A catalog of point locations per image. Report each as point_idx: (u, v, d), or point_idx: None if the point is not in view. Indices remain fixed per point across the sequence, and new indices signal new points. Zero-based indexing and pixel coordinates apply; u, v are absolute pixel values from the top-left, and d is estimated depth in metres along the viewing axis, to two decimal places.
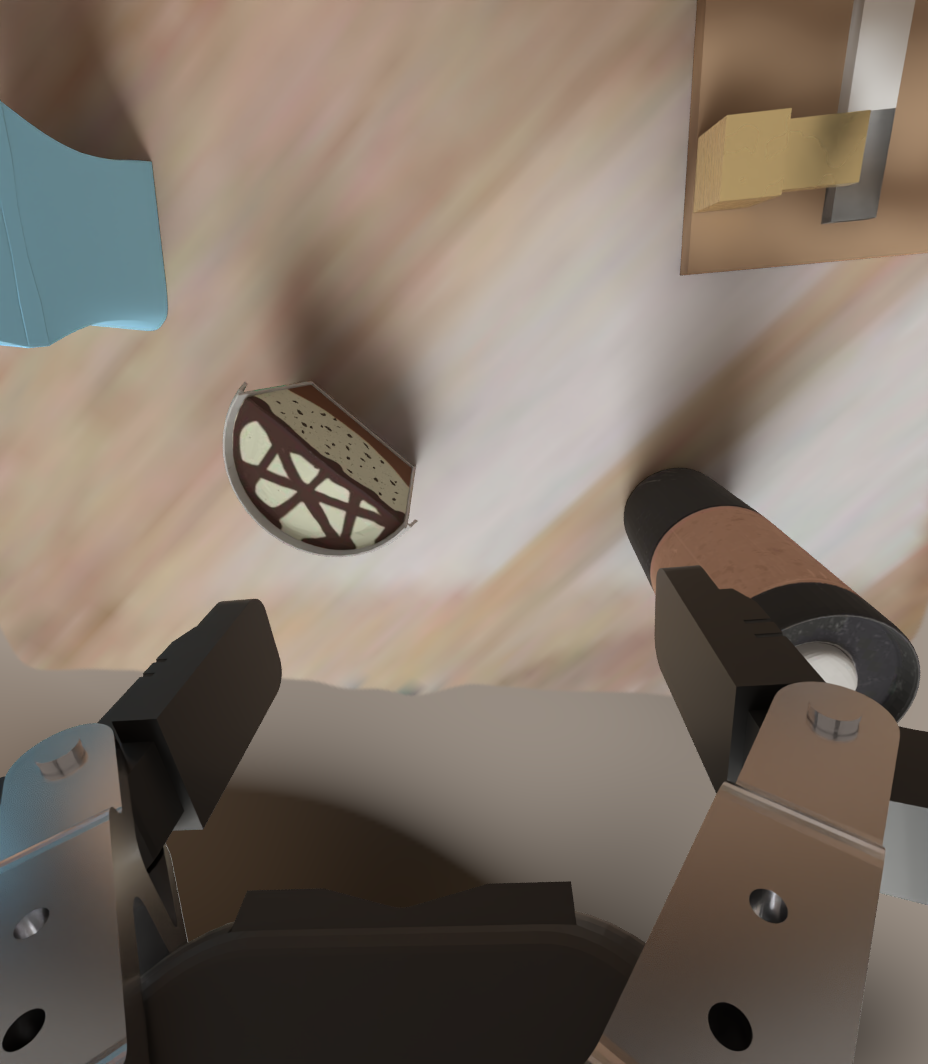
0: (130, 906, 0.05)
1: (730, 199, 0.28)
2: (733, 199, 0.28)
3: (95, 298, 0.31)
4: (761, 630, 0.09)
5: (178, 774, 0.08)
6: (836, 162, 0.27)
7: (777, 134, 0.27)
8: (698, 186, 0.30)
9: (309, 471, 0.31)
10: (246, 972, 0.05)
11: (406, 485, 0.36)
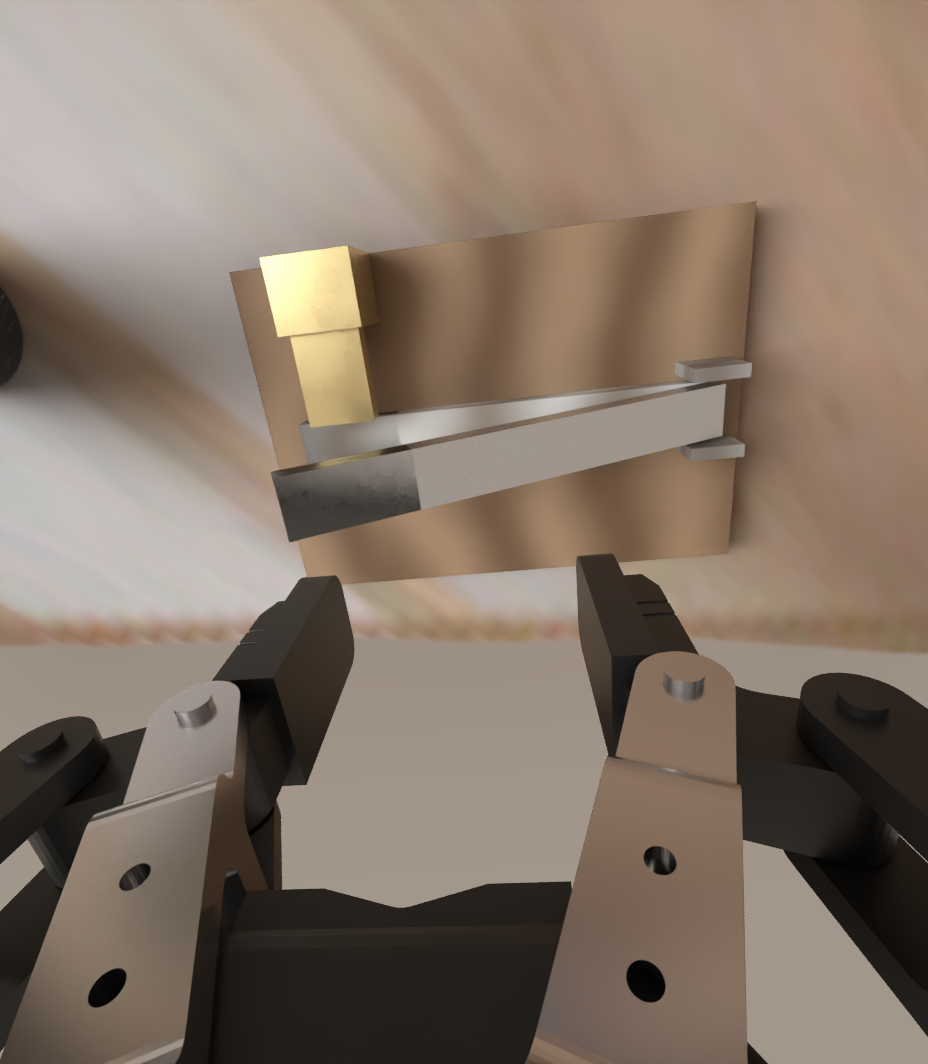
0: (221, 879, 0.05)
1: (264, 272, 0.22)
2: (265, 277, 0.22)
3: None
4: (656, 610, 0.09)
5: (287, 732, 0.09)
6: (324, 397, 0.24)
7: (335, 316, 0.23)
8: None
9: None
10: (246, 972, 0.05)
11: None
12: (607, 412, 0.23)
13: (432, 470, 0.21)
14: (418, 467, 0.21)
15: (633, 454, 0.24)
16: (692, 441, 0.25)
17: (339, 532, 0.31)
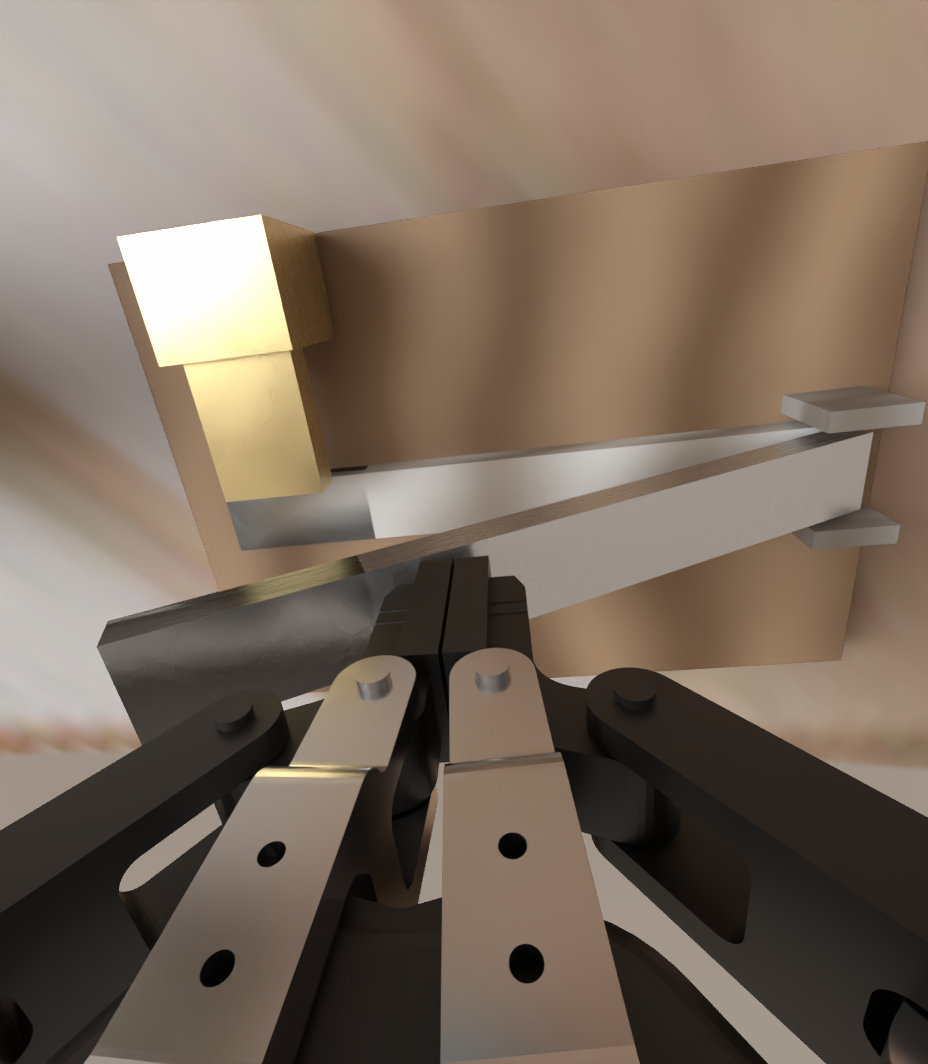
0: (347, 884, 0.05)
1: (127, 261, 0.13)
2: (130, 269, 0.13)
3: None
4: (512, 610, 0.10)
5: (442, 708, 0.09)
6: (244, 458, 0.16)
7: (249, 333, 0.14)
8: None
9: None
10: None
11: None
12: (695, 487, 0.14)
13: None
14: (379, 600, 0.12)
15: (730, 547, 0.15)
16: (817, 521, 0.16)
17: None
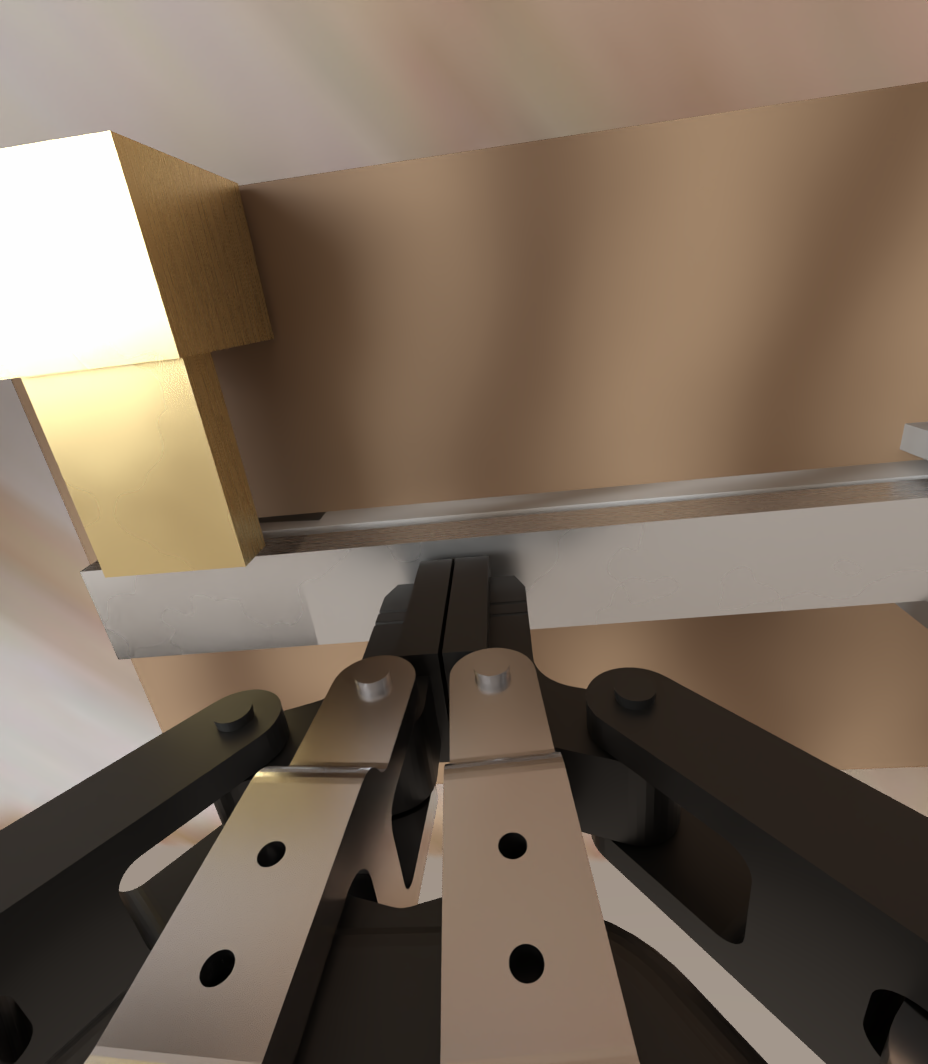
0: (346, 884, 0.05)
1: None
2: None
3: None
4: (512, 610, 0.10)
5: (443, 708, 0.09)
6: (127, 517, 0.11)
7: (109, 330, 0.09)
8: None
9: None
10: None
11: None
12: (701, 524, 0.11)
13: (333, 589, 0.12)
14: (308, 581, 0.12)
15: (757, 607, 0.12)
16: (917, 598, 0.12)
17: None
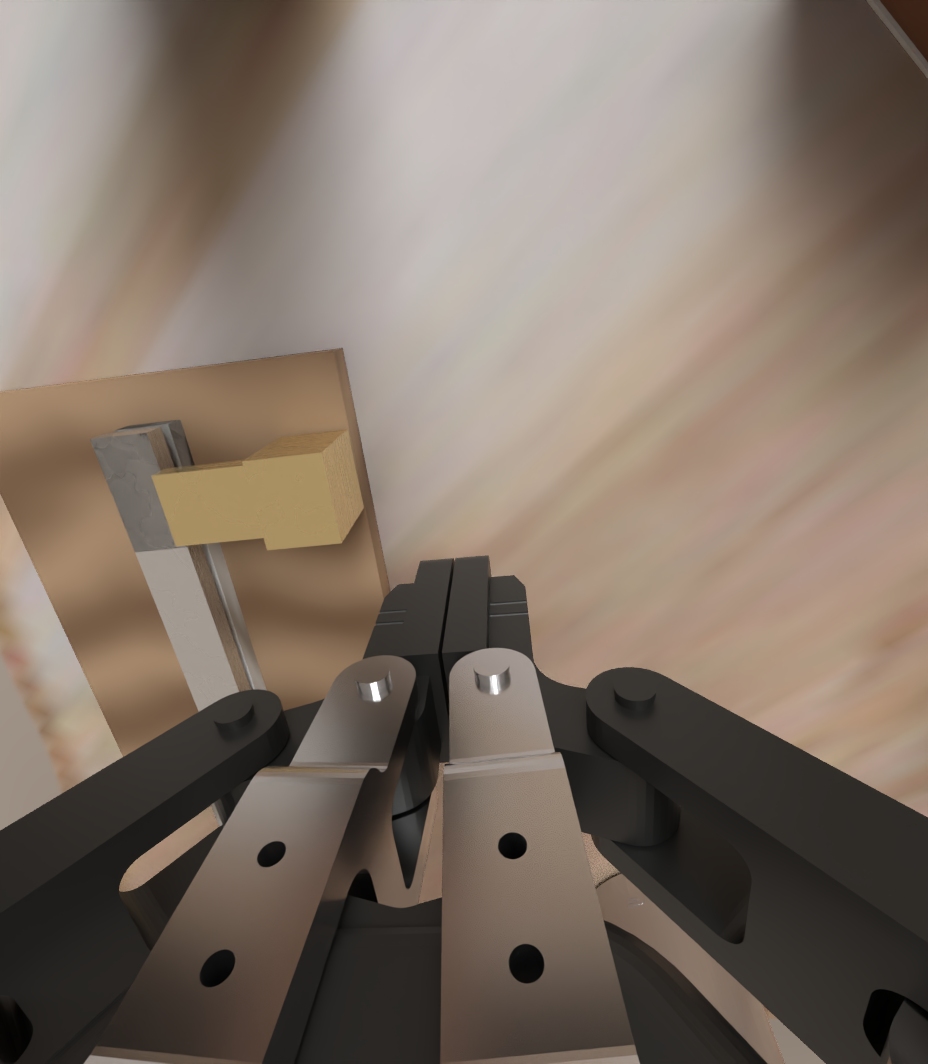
0: (346, 884, 0.05)
1: (307, 455, 0.20)
2: (303, 455, 0.20)
3: None
4: (512, 610, 0.10)
5: (443, 708, 0.09)
6: (189, 495, 0.21)
7: (273, 525, 0.21)
8: (350, 460, 0.23)
9: None
10: None
11: None
12: None
13: (171, 563, 0.24)
14: (172, 551, 0.24)
15: None
16: None
17: (49, 447, 0.25)
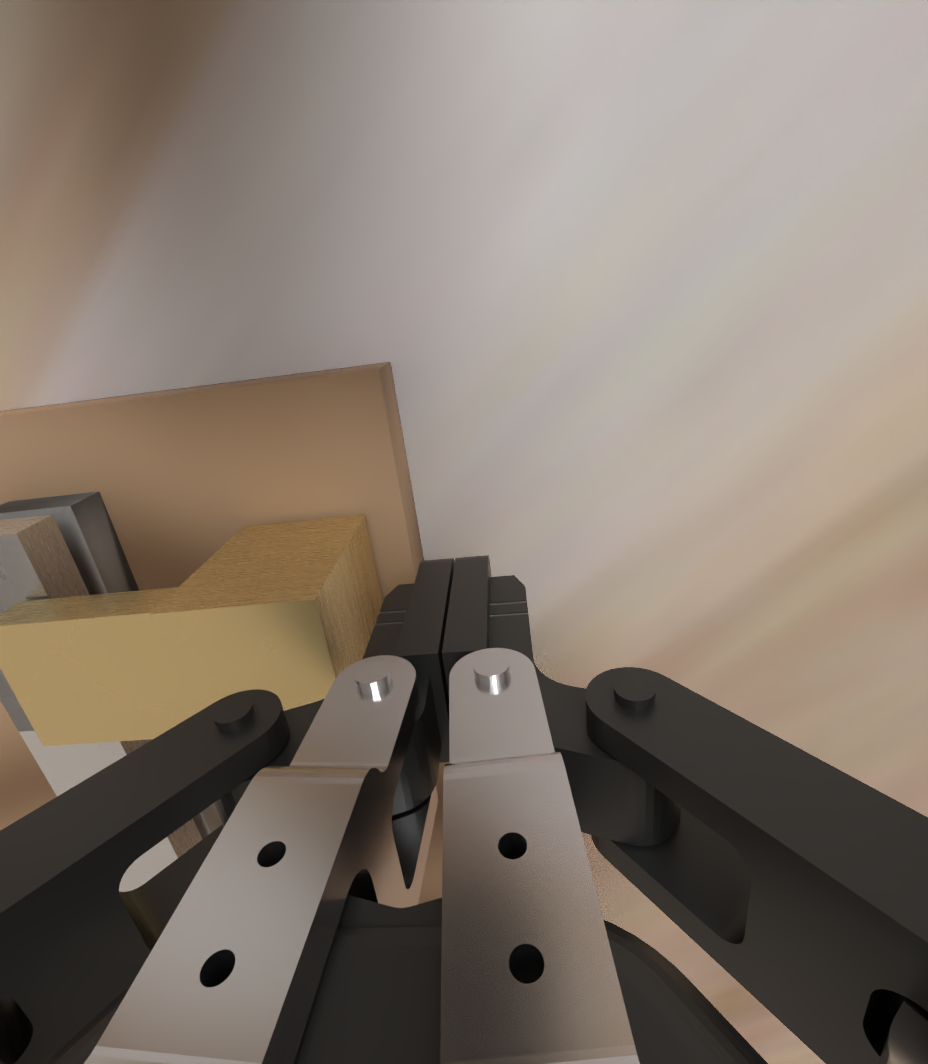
0: (346, 884, 0.05)
1: (285, 603, 0.09)
2: (277, 602, 0.09)
3: None
4: (512, 610, 0.10)
5: (442, 708, 0.09)
6: (57, 663, 0.11)
7: None
8: (368, 572, 0.13)
9: None
10: None
11: None
12: None
13: (85, 749, 0.13)
14: None
15: None
16: None
17: None
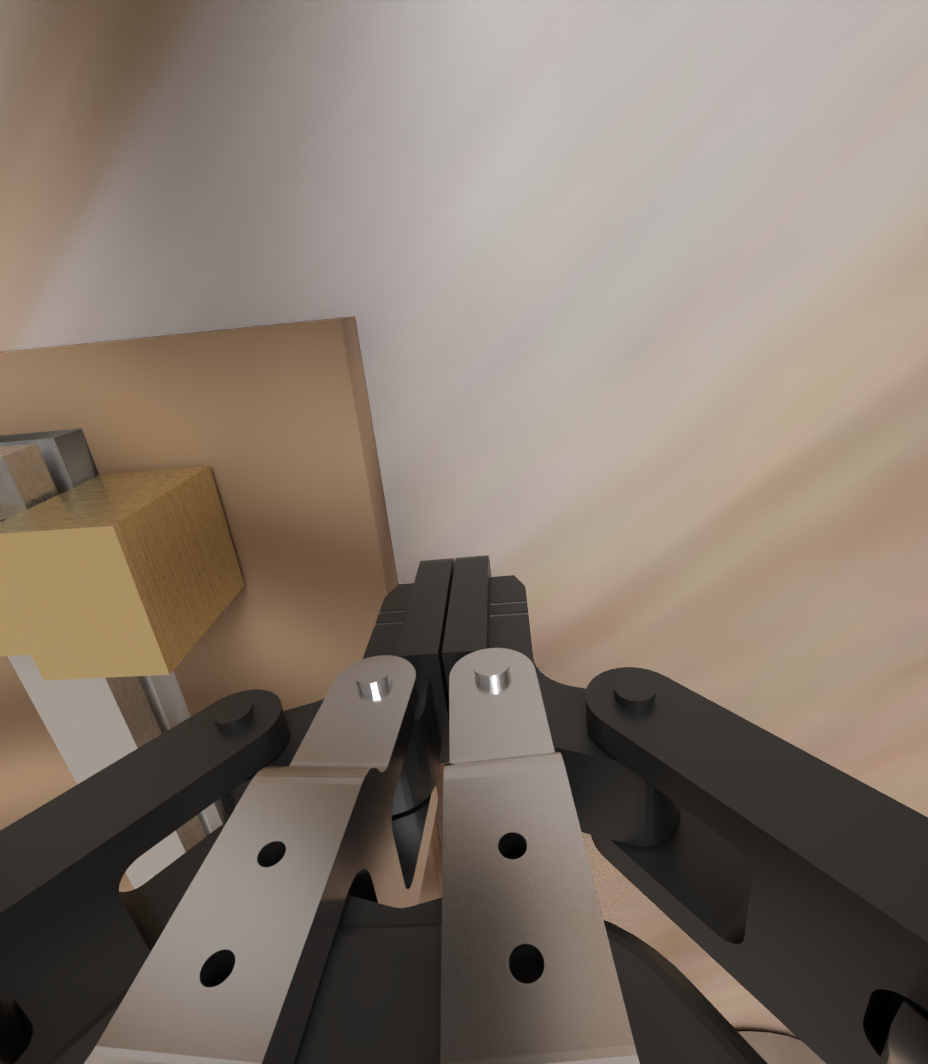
0: (346, 884, 0.05)
1: (88, 529, 0.11)
2: (82, 528, 0.11)
3: None
4: (512, 610, 0.10)
5: (443, 708, 0.09)
6: None
7: (48, 642, 0.12)
8: (210, 518, 0.14)
9: None
10: None
11: None
12: None
13: None
14: None
15: None
16: None
17: None
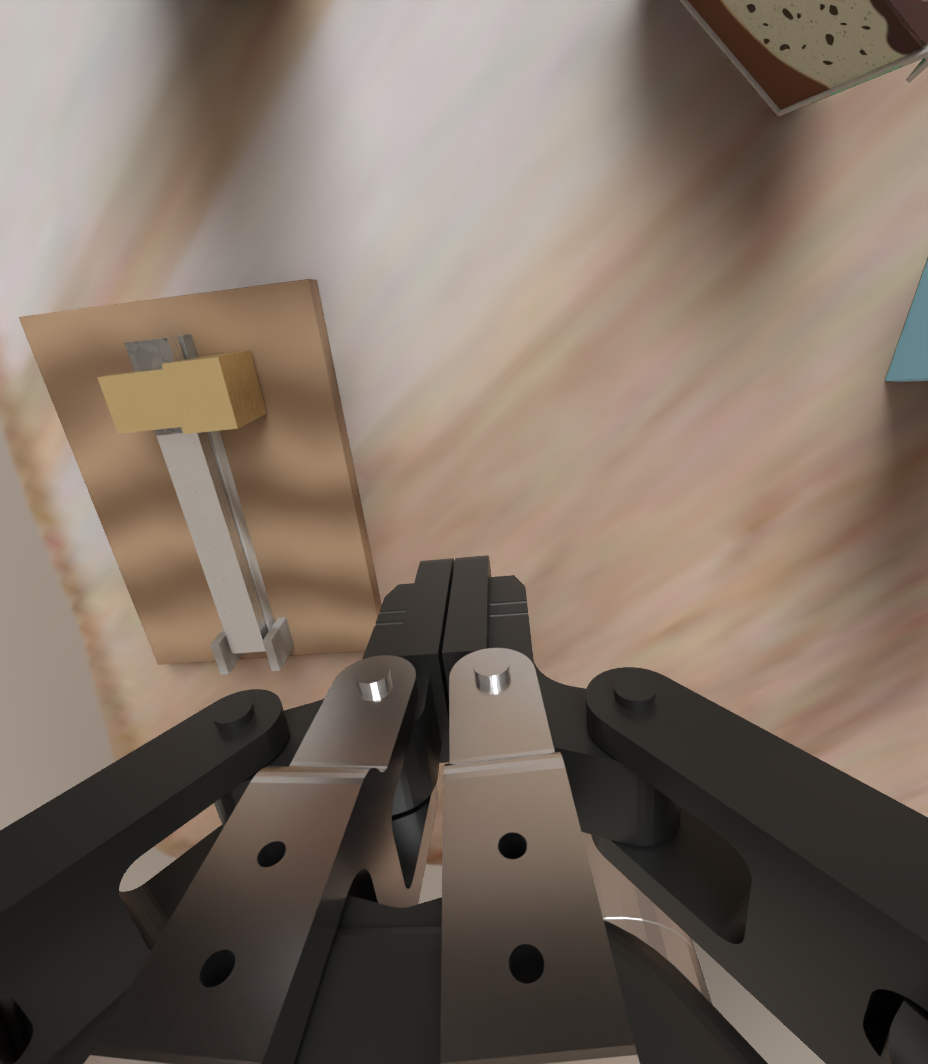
0: (347, 884, 0.05)
1: (208, 359, 0.27)
2: (205, 359, 0.27)
3: None
4: (512, 610, 0.10)
5: (443, 708, 0.09)
6: (126, 393, 0.29)
7: (187, 414, 0.29)
8: (251, 373, 0.31)
9: None
10: None
11: None
12: (237, 567, 0.34)
13: (184, 444, 0.31)
14: (185, 435, 0.31)
15: (211, 588, 0.35)
16: (225, 631, 0.36)
17: (89, 356, 0.32)
